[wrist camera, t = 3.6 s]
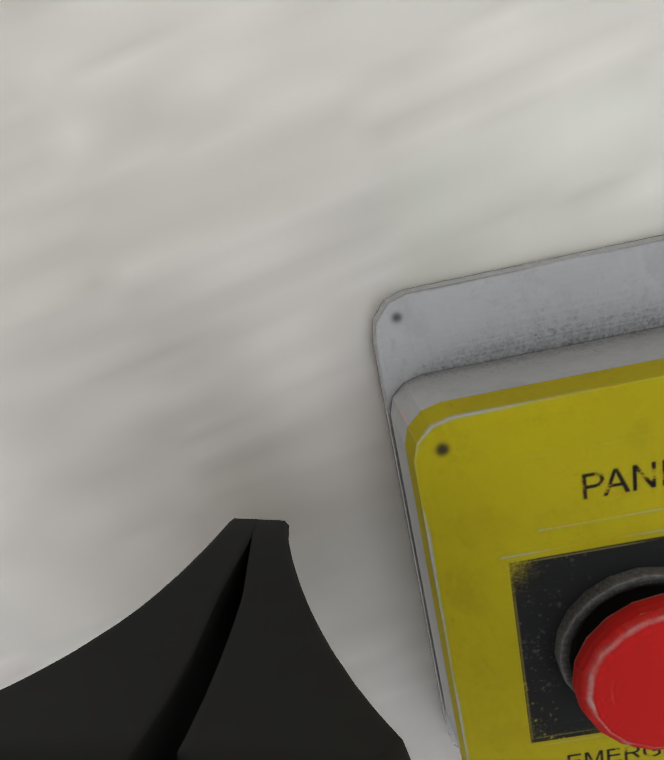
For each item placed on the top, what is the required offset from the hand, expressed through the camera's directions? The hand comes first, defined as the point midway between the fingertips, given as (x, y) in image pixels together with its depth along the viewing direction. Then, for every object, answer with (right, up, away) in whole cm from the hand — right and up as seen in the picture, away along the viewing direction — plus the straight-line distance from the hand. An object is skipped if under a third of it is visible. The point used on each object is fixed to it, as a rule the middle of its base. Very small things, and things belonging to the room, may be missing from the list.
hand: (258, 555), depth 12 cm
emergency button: (+9, 0, +2) cm, 9 cm away
